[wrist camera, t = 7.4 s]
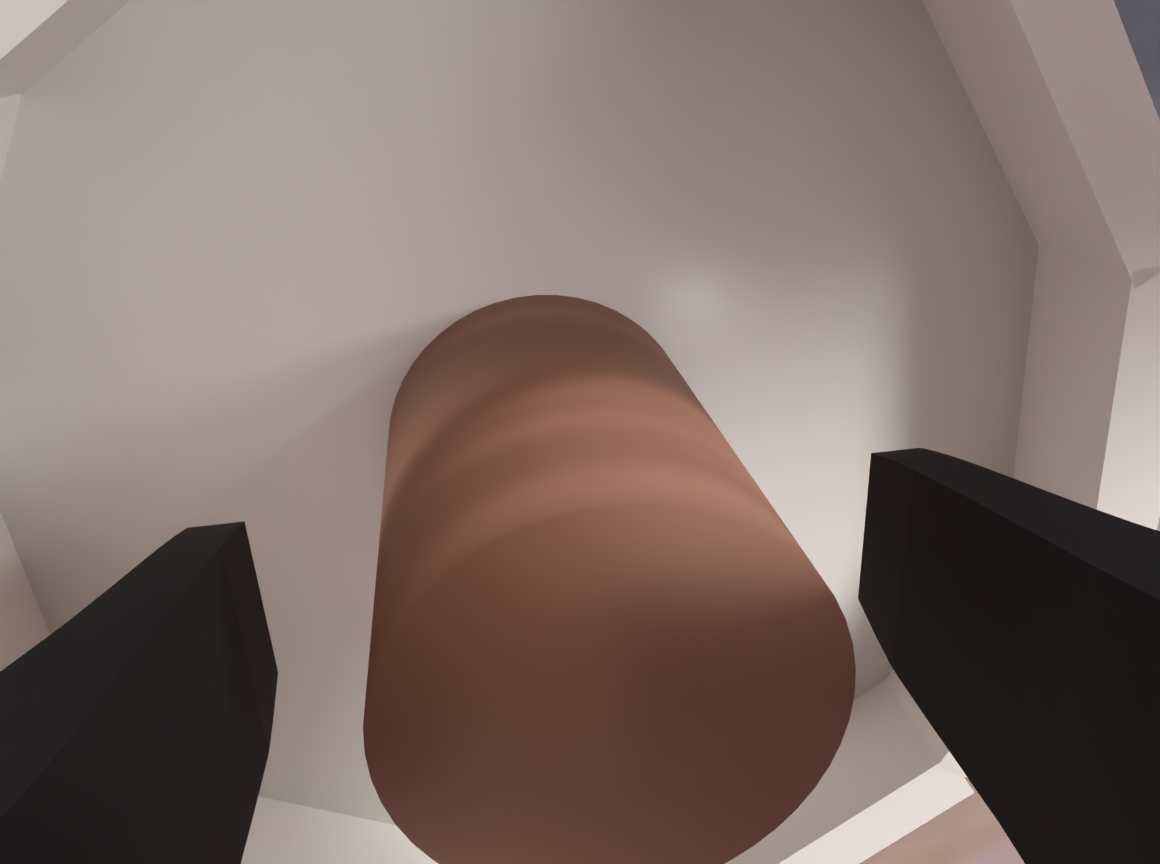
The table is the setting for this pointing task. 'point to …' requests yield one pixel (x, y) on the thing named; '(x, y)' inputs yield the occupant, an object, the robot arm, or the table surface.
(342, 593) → the round tray
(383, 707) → the brown rounded cylinder
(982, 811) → the table surface
